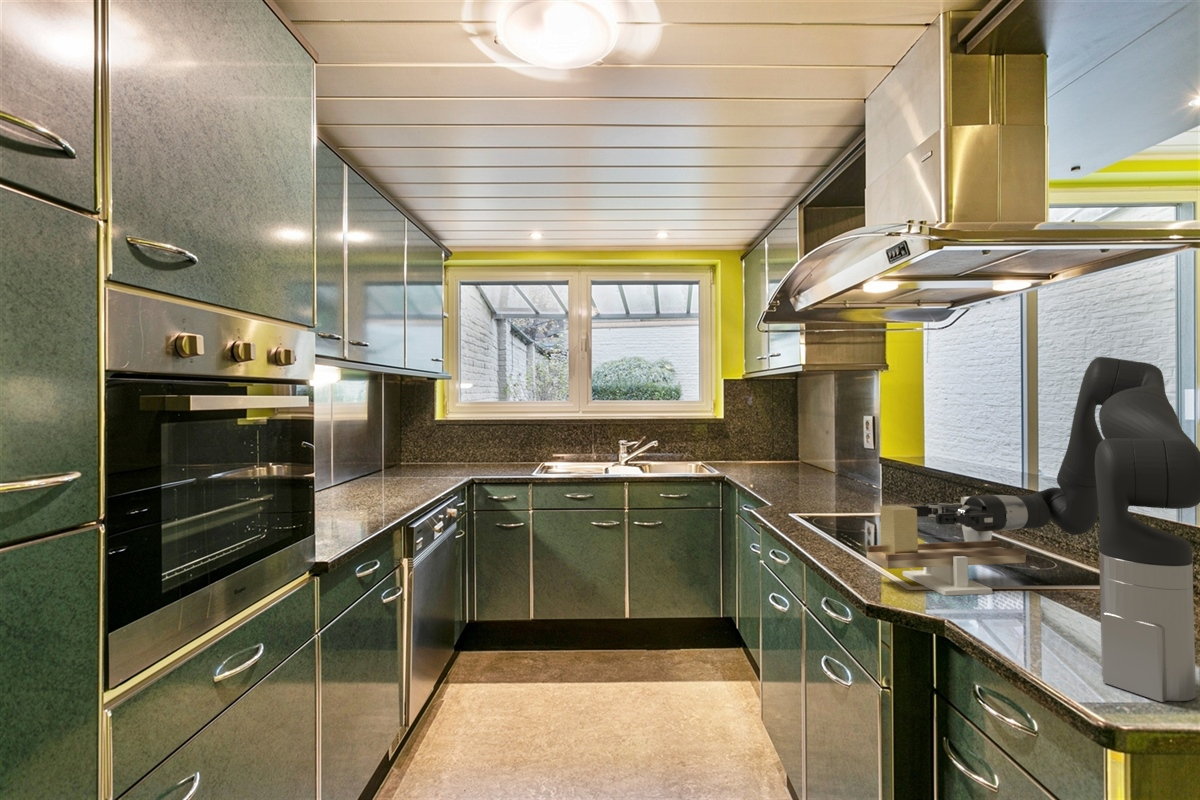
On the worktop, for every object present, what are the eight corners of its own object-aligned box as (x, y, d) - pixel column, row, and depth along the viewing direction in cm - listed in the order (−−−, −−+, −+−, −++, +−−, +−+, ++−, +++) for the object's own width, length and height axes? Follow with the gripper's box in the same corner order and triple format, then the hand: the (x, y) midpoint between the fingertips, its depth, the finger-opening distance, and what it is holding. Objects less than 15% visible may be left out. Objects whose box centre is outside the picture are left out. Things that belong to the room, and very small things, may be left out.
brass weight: (903, 551, 125) (902, 505, 125) (918, 557, 120) (916, 509, 120) (881, 552, 124) (880, 506, 124) (895, 558, 119) (893, 510, 119)
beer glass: (956, 555, 146) (954, 496, 146) (986, 556, 145) (985, 496, 145) (969, 563, 139) (967, 500, 139) (1000, 563, 138) (999, 500, 138)
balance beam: (996, 552, 128) (996, 540, 128) (1025, 562, 120) (1025, 549, 120) (866, 558, 126) (866, 545, 126) (888, 568, 118) (887, 555, 118)
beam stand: (944, 573, 130) (944, 542, 130) (992, 593, 116) (991, 558, 116) (902, 575, 129) (902, 544, 129) (945, 595, 115) (944, 560, 115)
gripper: (970, 490, 131) (902, 492, 130) (1021, 500, 117) (946, 502, 116) (971, 523, 131) (903, 526, 130) (1022, 537, 117) (946, 540, 115)
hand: (923, 515), depth 123 cm, fingers open, 8 cm apart
